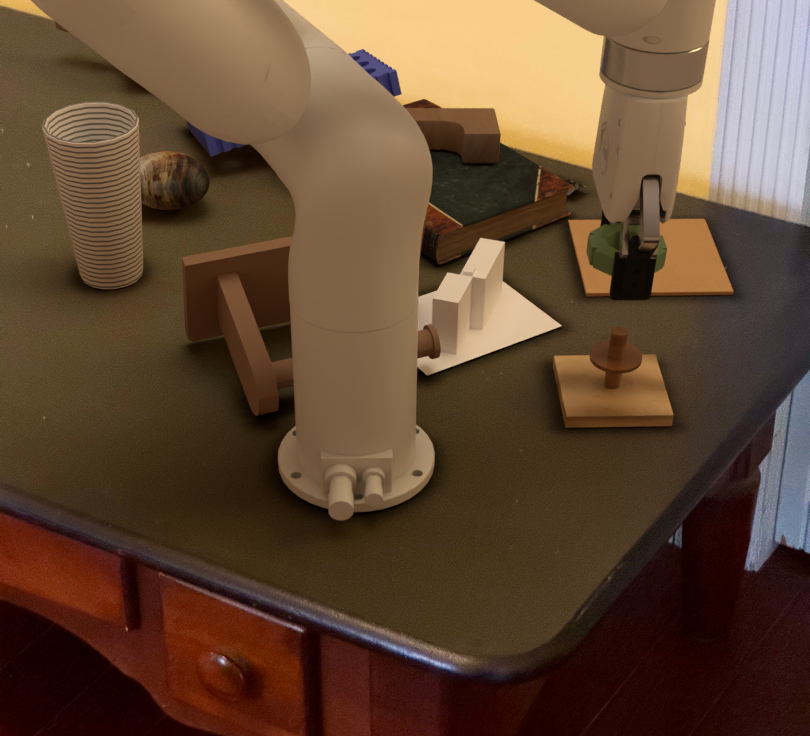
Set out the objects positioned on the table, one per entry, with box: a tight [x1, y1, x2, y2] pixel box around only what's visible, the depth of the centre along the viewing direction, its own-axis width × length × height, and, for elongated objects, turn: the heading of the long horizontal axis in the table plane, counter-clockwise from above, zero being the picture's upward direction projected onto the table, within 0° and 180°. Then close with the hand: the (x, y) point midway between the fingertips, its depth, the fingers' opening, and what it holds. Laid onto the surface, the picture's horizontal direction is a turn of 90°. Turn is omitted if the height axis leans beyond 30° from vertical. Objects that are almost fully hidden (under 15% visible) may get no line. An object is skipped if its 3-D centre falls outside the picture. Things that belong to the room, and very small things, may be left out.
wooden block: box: [405, 107, 502, 163], centre depth 149 cm, size 7×3×15 cm
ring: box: [586, 223, 667, 276], centre depth 115 cm, size 6×6×2 cm
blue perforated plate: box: [185, 48, 402, 157], centre depth 157 cm, size 25×24×3 cm
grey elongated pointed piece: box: [562, 178, 588, 196], centre depth 152 cm, size 6×2×3 cm
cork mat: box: [567, 218, 734, 297], centre depth 142 cm, size 14×14×1 cm
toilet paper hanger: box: [181, 218, 441, 417], centre depth 124 cm, size 22×13×10 cm, turn 111°
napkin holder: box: [417, 238, 563, 376], centre depth 131 cm, size 15×11×6 cm
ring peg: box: [552, 326, 674, 429], centre depth 122 cm, size 9×9×7 cm
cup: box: [41, 101, 144, 290], centre depth 133 cm, size 8×8×16 cm
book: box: [402, 98, 574, 265], centre depth 150 cm, size 17×4×25 cm
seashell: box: [140, 150, 211, 211], centre depth 146 cm, size 10×6×8 cm
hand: (623, 274), depth 116 cm, fingers closed on ring, 6 cm apart
